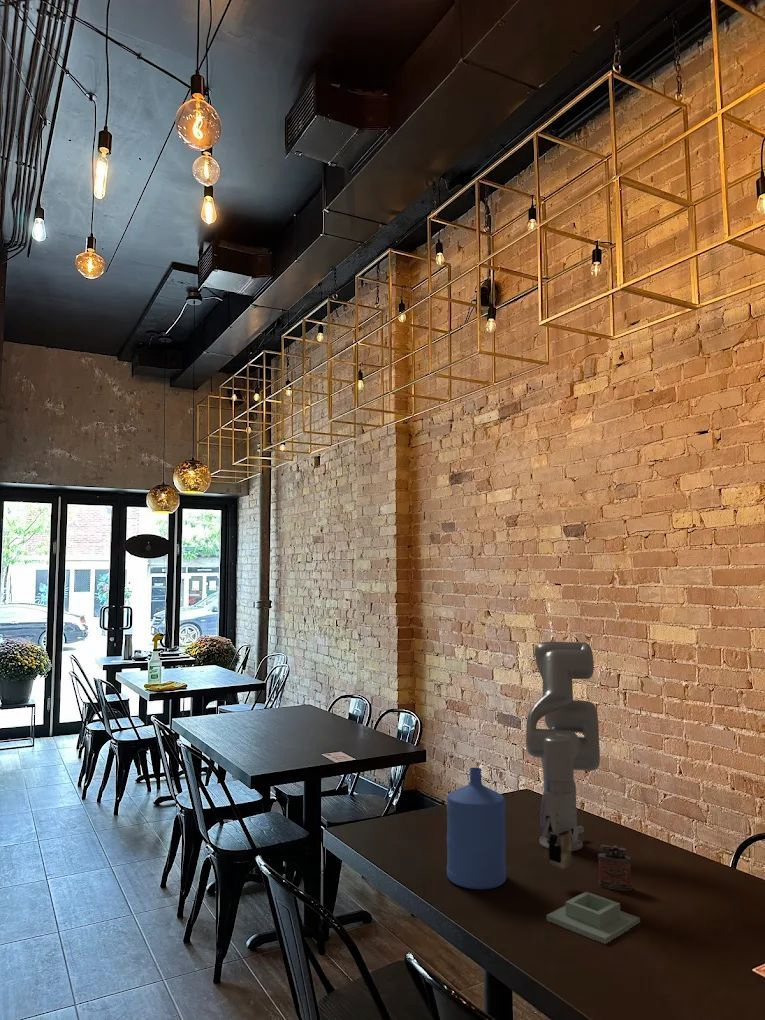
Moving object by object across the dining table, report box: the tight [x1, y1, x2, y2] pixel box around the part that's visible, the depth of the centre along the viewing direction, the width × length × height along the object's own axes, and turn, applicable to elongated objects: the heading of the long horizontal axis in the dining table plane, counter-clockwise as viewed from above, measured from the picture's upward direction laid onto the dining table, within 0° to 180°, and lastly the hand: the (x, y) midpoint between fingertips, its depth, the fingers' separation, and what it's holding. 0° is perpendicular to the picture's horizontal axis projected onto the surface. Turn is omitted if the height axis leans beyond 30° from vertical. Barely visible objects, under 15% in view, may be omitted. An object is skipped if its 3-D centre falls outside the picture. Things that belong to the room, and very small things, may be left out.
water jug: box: [446, 767, 507, 890], centre depth 189 cm, size 16×16×28 cm
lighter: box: [597, 844, 633, 891], centre depth 184 cm, size 8×3×10 cm, turn 71°
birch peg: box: [549, 831, 573, 870], centre depth 184 cm, size 4×4×8 cm
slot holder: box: [546, 891, 641, 945], centre depth 164 cm, size 15×15×4 cm
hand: (560, 857), depth 184 cm, fingers closed on birch peg, 3 cm apart
